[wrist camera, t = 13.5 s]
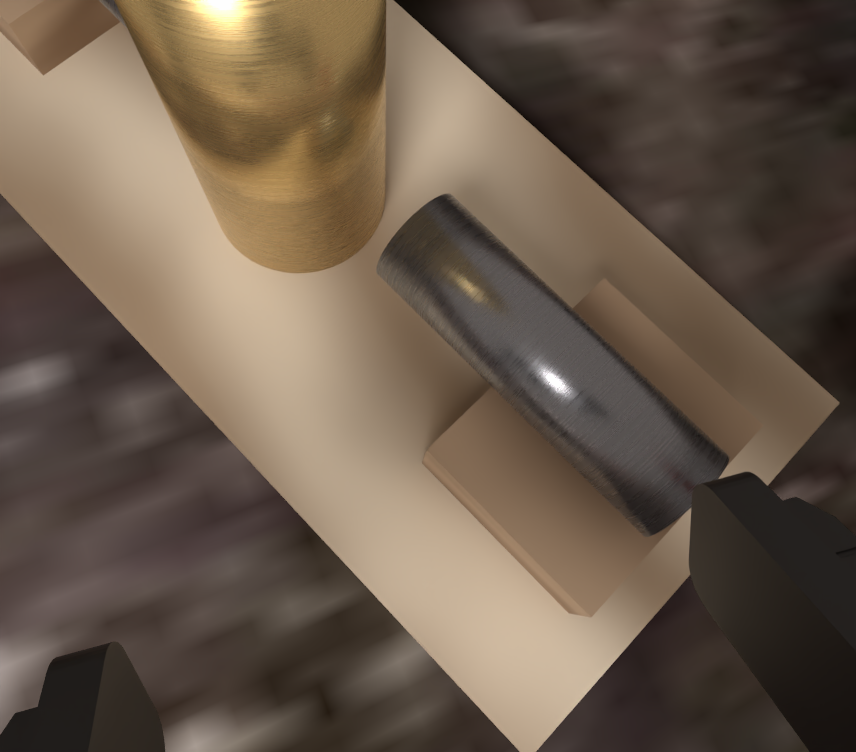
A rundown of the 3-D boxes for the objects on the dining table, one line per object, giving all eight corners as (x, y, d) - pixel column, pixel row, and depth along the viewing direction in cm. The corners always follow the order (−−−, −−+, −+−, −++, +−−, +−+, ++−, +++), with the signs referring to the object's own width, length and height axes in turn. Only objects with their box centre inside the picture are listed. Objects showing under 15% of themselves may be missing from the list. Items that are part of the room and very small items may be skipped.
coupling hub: (292, 307, 19) (203, 44, 10) (177, 189, 20) (-12, -168, 10) (419, 199, 20) (453, -137, 11) (307, 90, 21) (242, -319, 11)
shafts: (629, 540, 16) (670, 533, 14) (-40, -121, 20) (-96, -213, 18) (697, 464, 17) (748, 445, 15) (35, -167, 20) (-10, -262, 18)
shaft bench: (520, 750, 18) (547, 783, 15) (-165, 14, 22) (-248, -71, 19) (818, 410, 21) (889, 384, 18) (158, -189, 25) (129, -291, 22)
